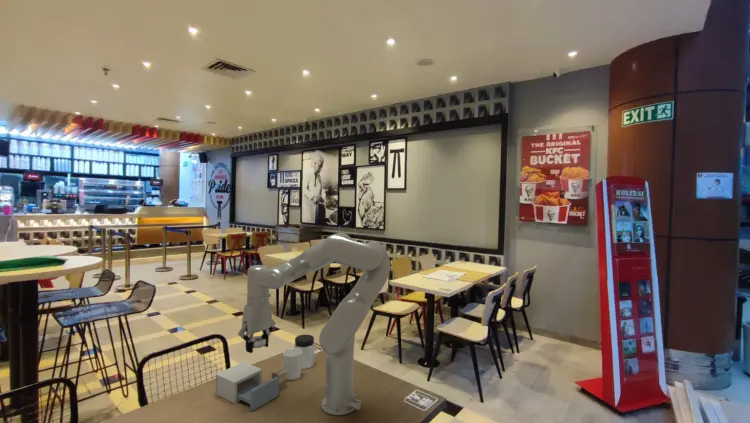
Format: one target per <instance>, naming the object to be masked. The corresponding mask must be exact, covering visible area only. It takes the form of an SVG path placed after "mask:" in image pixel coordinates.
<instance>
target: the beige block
mask: <svg viewBox="0 0 750 423" xmlns="http://www.w3.org/2000/svg"><path fill="white" fill-rule="evenodd" d="M275 377H279V391H281V390H283V389H285V388H286V387H287V386H288V382H287V381H288V380H287V371H286V370H284V368H281V367H279V368H277V369H275V370H273V371H271V379H273V378H275Z"/></svg>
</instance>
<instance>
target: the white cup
mask: <svg viewBox="0 0 750 423" xmlns="http://www.w3.org/2000/svg"><path fill="white" fill-rule="evenodd" d="M302 353H303V351H302V350H301V349H298V348H294V347H293V348H288V349H284V350H283V352H282V364H283V370H286V371H287V381H293V380H299V378H301V376H302V370H303V369H302Z"/></svg>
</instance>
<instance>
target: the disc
mask: <svg viewBox="0 0 750 423" xmlns="http://www.w3.org/2000/svg"><path fill="white" fill-rule="evenodd" d="M252 342H253V349H260V348H263V347H265V345H266V337H263V336H262V335H257V336H256V335H255V336H253V338H252Z"/></svg>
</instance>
